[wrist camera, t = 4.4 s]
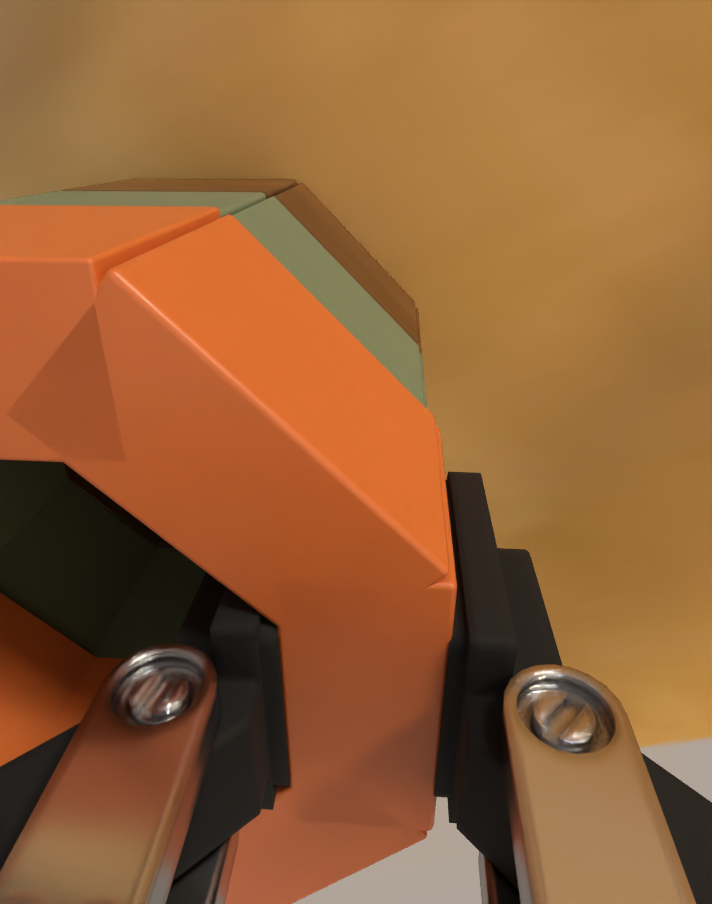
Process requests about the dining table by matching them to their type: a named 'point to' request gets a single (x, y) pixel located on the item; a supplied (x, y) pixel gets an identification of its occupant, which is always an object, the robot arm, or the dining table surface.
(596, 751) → the robot arm
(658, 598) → the dining table surface
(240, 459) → the ring top
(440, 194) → the dining table surface
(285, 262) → the ring middle
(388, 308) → the ring bottom
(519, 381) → the dining table surface
